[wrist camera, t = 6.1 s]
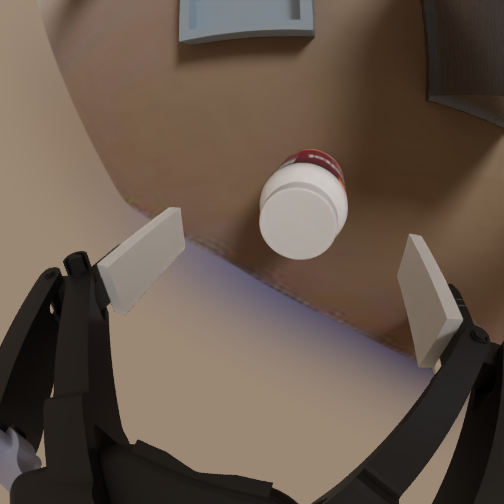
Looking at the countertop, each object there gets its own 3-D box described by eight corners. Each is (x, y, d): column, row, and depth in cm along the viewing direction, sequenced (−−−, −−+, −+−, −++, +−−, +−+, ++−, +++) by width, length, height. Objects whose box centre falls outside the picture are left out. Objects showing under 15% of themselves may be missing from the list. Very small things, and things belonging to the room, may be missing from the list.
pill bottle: (357, 185, 24) (371, 237, 15) (308, 221, 27) (293, 287, 18) (314, 134, 23) (302, 152, 13) (266, 174, 26) (226, 219, 17)
